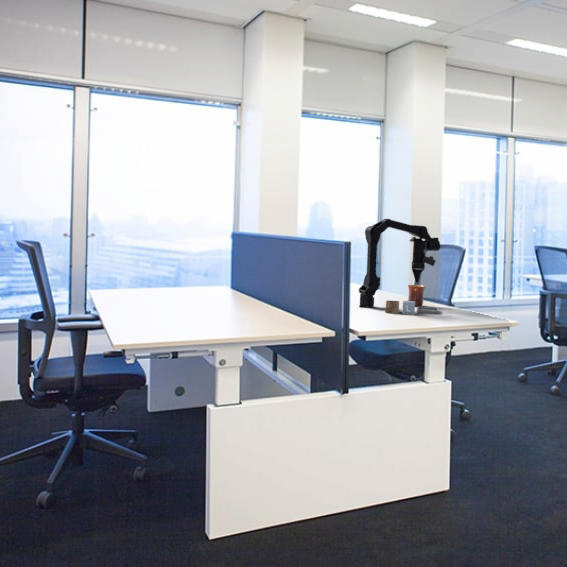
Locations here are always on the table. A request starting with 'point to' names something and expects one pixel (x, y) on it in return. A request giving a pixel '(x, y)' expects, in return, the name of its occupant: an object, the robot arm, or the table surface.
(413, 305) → the blue-gray cube
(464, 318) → the table surface
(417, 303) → the mug
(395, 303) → the open wooden cubby box
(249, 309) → the table surface
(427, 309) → the tray
